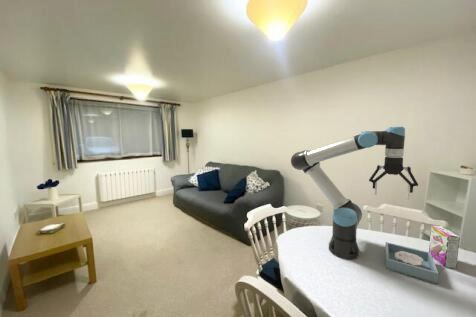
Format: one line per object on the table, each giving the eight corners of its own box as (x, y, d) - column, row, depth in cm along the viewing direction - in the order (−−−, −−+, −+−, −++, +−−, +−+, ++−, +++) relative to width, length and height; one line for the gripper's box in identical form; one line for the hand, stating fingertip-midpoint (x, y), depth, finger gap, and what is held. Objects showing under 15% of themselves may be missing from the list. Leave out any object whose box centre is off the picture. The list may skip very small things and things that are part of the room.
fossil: (417, 267, 91) (395, 249, 99) (410, 275, 94) (389, 257, 102) (428, 261, 94) (406, 243, 102) (421, 269, 97) (400, 251, 105)
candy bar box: (427, 253, 106) (430, 225, 104) (438, 254, 105) (441, 225, 103) (444, 267, 95) (448, 235, 93) (457, 268, 94) (460, 236, 92)
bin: (385, 268, 96) (386, 259, 95) (385, 250, 110) (385, 242, 110) (437, 284, 85) (438, 273, 85) (429, 261, 100) (430, 252, 99)
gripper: (364, 156, 106) (362, 194, 109) (428, 158, 92) (424, 202, 95) (365, 155, 112) (363, 191, 115) (425, 156, 98) (421, 198, 101)
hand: (391, 196), depth 105 cm, fingers open, 13 cm apart
